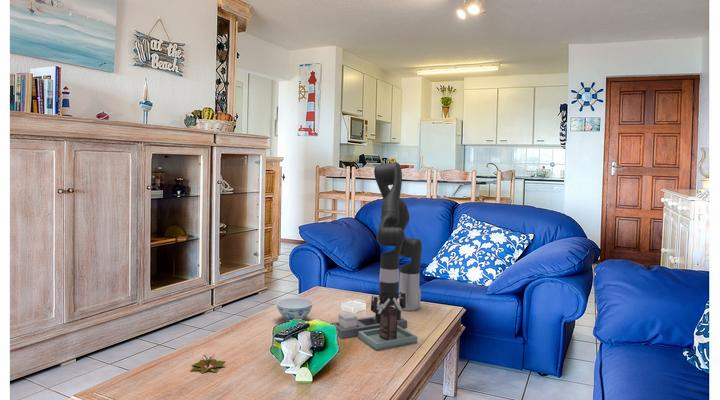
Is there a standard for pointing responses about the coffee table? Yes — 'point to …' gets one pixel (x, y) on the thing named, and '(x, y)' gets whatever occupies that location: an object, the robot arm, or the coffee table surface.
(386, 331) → the box
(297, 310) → the chinaware
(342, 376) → the coffee table surface
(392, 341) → the tray
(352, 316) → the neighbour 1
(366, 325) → the slot holder
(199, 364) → the lily flower
